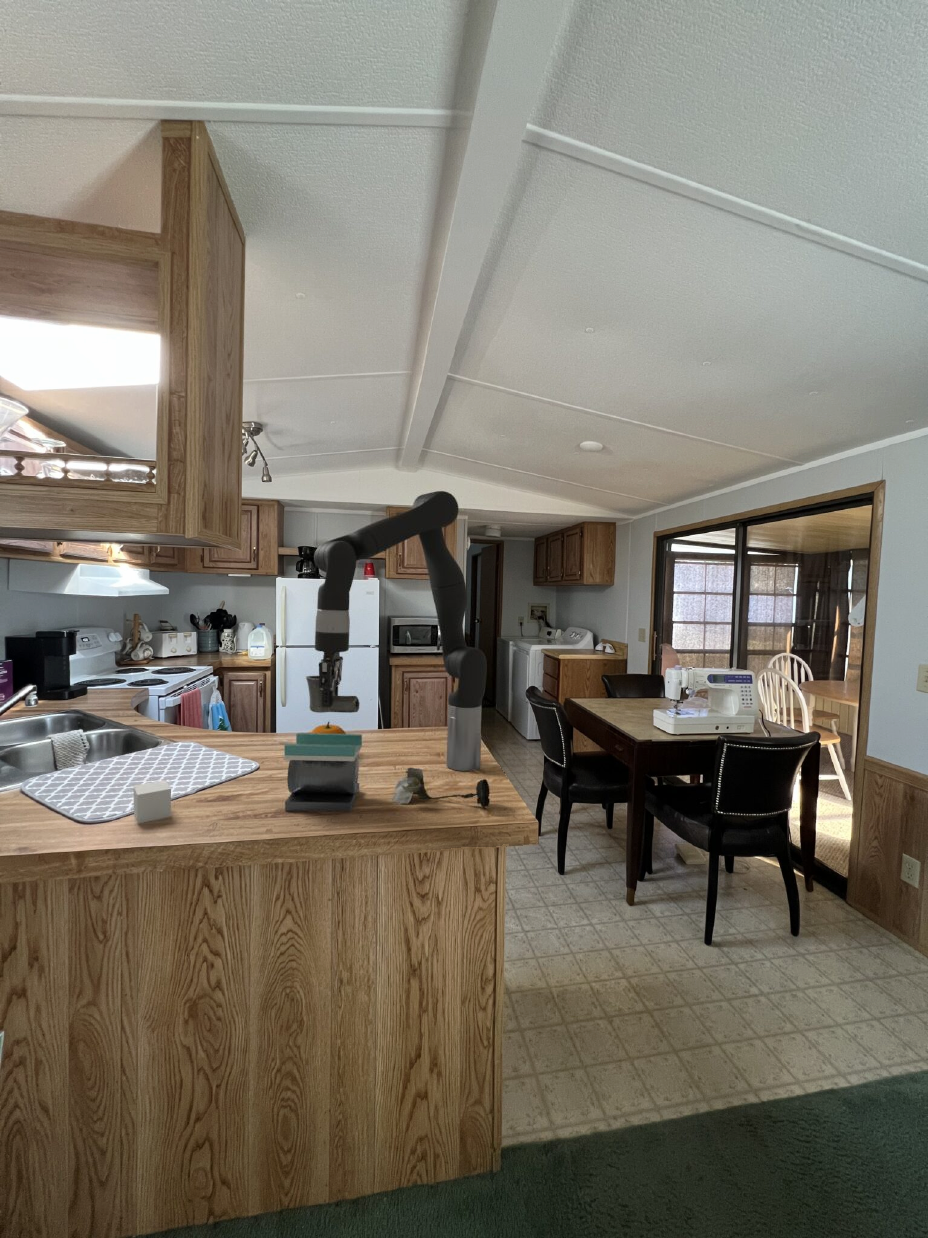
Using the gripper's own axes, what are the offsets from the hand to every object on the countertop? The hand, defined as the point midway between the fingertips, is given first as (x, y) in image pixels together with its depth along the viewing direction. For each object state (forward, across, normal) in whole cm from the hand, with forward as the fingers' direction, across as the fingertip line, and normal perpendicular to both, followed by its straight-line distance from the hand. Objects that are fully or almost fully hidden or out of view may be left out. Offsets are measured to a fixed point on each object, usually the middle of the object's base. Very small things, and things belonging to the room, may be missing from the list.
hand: (329, 703), depth 122 cm
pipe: (+2, 0, 0) cm, 2 cm away
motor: (+22, -1, 0) cm, 22 cm away
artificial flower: (+22, -1, -26) cm, 34 cm away
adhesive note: (+23, -10, +34) cm, 42 cm away
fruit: (+22, +32, +7) cm, 39 cm away
